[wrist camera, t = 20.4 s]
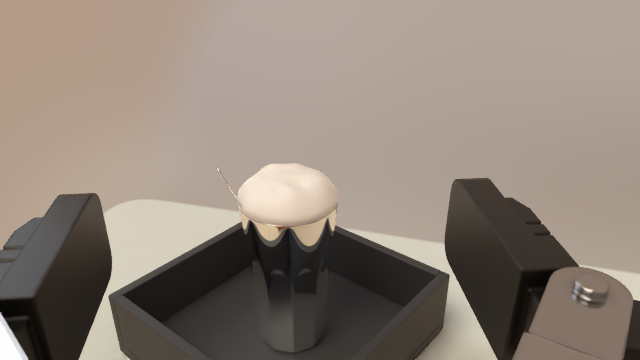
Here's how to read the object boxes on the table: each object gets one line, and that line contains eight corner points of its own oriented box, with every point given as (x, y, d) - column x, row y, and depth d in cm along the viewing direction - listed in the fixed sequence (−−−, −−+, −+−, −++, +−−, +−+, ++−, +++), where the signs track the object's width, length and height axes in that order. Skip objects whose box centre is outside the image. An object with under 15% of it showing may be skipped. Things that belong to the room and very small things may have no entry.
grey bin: (120, 350, 28) (107, 295, 26) (280, 247, 36) (278, 200, 35) (294, 495, 21) (291, 432, 20) (443, 328, 30) (450, 274, 28)
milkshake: (223, 319, 29) (205, 148, 25) (315, 293, 31) (314, 130, 27) (247, 380, 26) (231, 193, 21) (350, 347, 27) (356, 168, 23)
